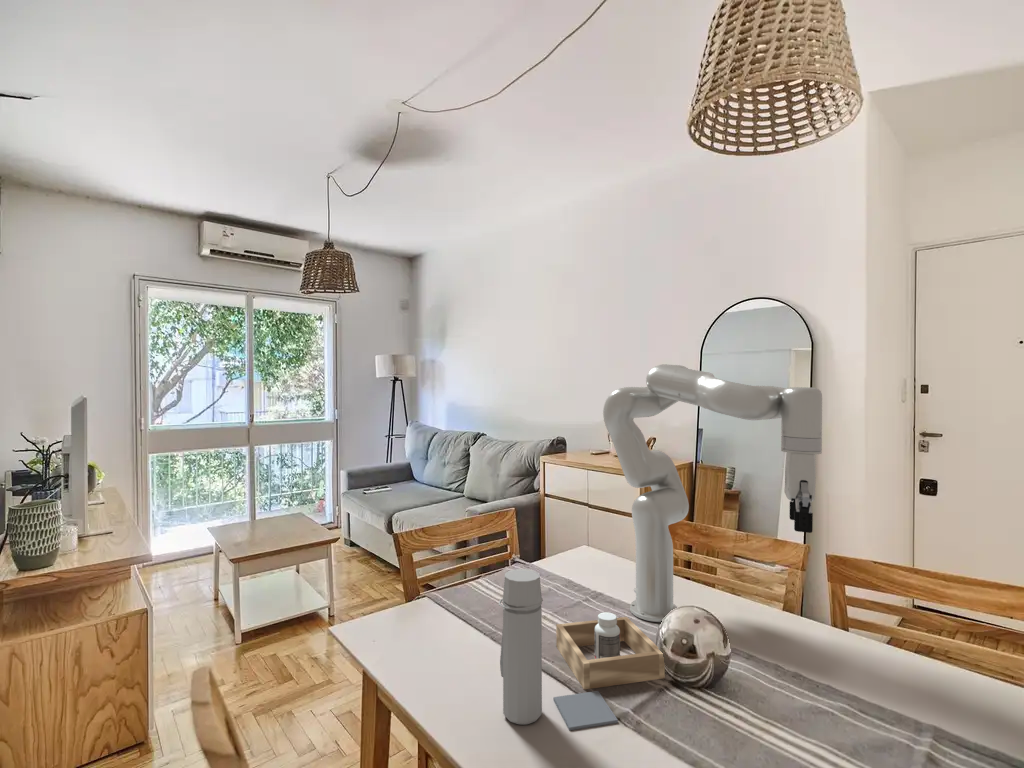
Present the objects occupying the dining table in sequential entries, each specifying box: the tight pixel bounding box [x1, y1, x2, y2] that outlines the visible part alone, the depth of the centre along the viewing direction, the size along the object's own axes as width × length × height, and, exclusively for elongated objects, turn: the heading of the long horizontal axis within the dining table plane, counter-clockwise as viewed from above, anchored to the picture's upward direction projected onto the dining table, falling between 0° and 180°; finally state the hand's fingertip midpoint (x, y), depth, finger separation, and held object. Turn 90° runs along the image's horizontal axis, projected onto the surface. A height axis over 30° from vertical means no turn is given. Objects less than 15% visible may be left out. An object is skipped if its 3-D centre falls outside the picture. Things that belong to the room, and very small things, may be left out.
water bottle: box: [498, 568, 544, 725], centre depth 94 cm, size 9×8×25 cm
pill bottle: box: [594, 611, 621, 659], centre depth 111 cm, size 5×5×10 cm
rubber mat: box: [553, 690, 619, 731], centre depth 94 cm, size 9×9×1 cm
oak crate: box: [555, 616, 666, 690], centre depth 111 cm, size 17×17×5 cm
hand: (800, 525), depth 109 cm, fingers open, 9 cm apart
